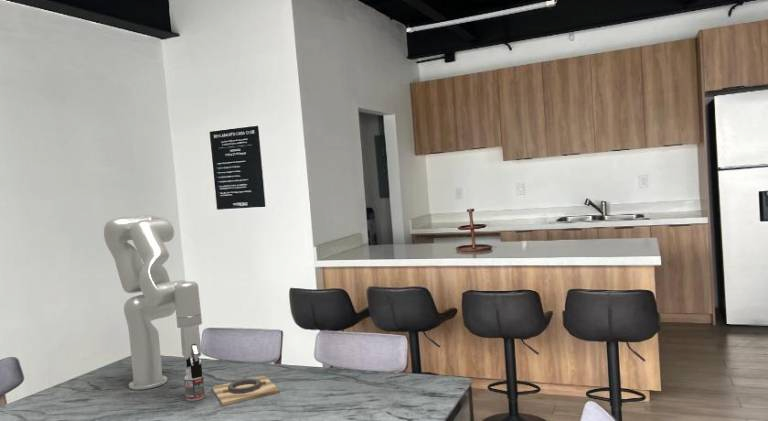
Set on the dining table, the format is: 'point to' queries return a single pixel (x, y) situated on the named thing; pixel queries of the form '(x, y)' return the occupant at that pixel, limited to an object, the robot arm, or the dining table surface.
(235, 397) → the socket board
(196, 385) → the pill bottle
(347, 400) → the dining table surface
